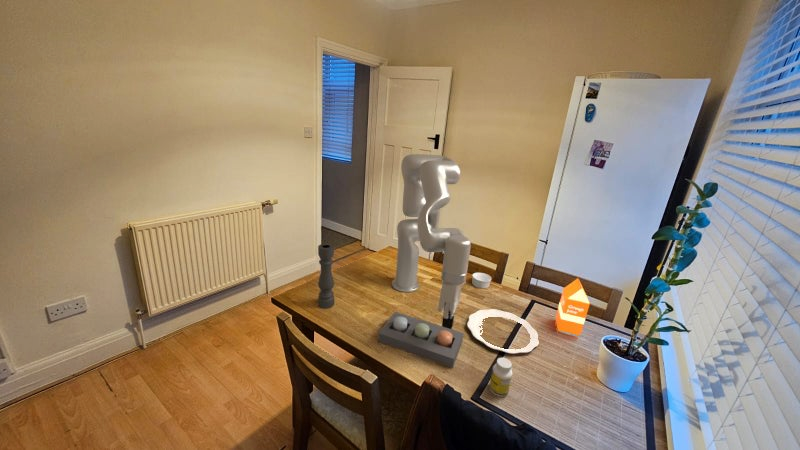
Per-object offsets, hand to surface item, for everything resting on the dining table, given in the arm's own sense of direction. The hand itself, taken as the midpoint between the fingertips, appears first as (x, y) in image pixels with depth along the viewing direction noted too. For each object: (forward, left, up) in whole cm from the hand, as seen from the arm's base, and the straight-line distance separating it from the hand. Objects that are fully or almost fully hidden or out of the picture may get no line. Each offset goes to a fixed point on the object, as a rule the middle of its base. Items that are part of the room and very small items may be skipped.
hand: (447, 326), depth 102 cm
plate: (-19, +17, -10) cm, 27 cm away
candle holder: (-3, -49, -10) cm, 50 cm away
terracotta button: (0, 0, -7) cm, 7 cm away
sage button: (0, -8, -7) cm, 11 cm away
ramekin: (-52, +4, -10) cm, 53 cm away
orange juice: (-34, +40, -10) cm, 53 cm away
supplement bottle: (+9, +19, -10) cm, 23 cm away
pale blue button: (0, -16, -7) cm, 18 cm away
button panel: (0, -8, -9) cm, 13 cm away
